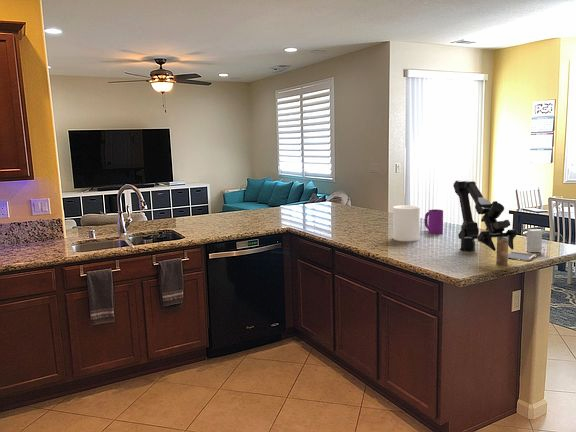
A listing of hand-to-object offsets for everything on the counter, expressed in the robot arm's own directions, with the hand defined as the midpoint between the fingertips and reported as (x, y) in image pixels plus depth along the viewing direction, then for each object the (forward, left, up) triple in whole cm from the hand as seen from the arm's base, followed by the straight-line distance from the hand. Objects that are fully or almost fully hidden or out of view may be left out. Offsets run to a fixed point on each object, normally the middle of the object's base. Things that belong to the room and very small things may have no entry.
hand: (503, 250), depth 229 cm
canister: (-68, +29, -7) cm, 74 cm away
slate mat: (+2, +19, -7) cm, 20 cm away
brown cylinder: (-1, +1, -7) cm, 7 cm away
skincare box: (+4, +35, -7) cm, 36 cm away
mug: (-64, +57, -7) cm, 86 cm away
